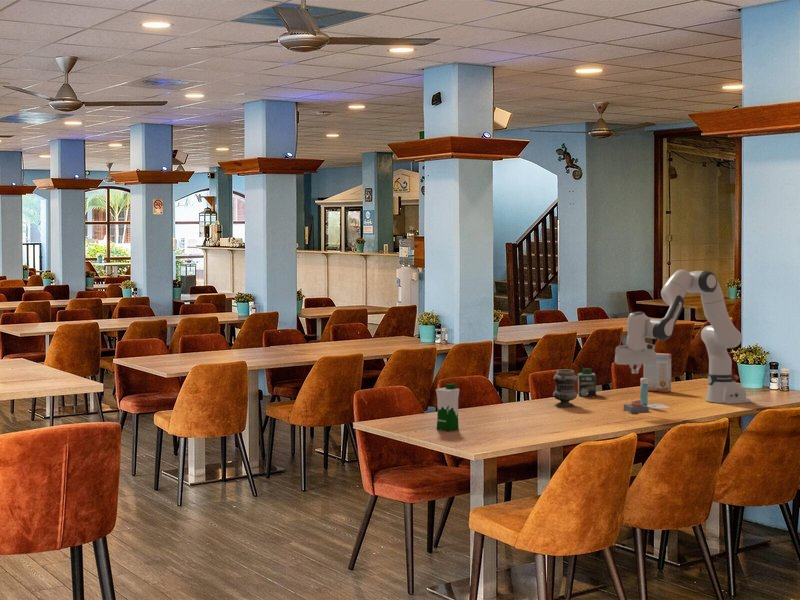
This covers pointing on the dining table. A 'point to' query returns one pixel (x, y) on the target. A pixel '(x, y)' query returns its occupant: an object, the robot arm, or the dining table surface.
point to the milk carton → (447, 407)
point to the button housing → (636, 408)
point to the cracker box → (659, 373)
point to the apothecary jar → (565, 387)
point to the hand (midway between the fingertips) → (634, 373)
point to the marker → (644, 391)
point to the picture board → (657, 406)
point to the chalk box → (586, 383)
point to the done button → (636, 403)
